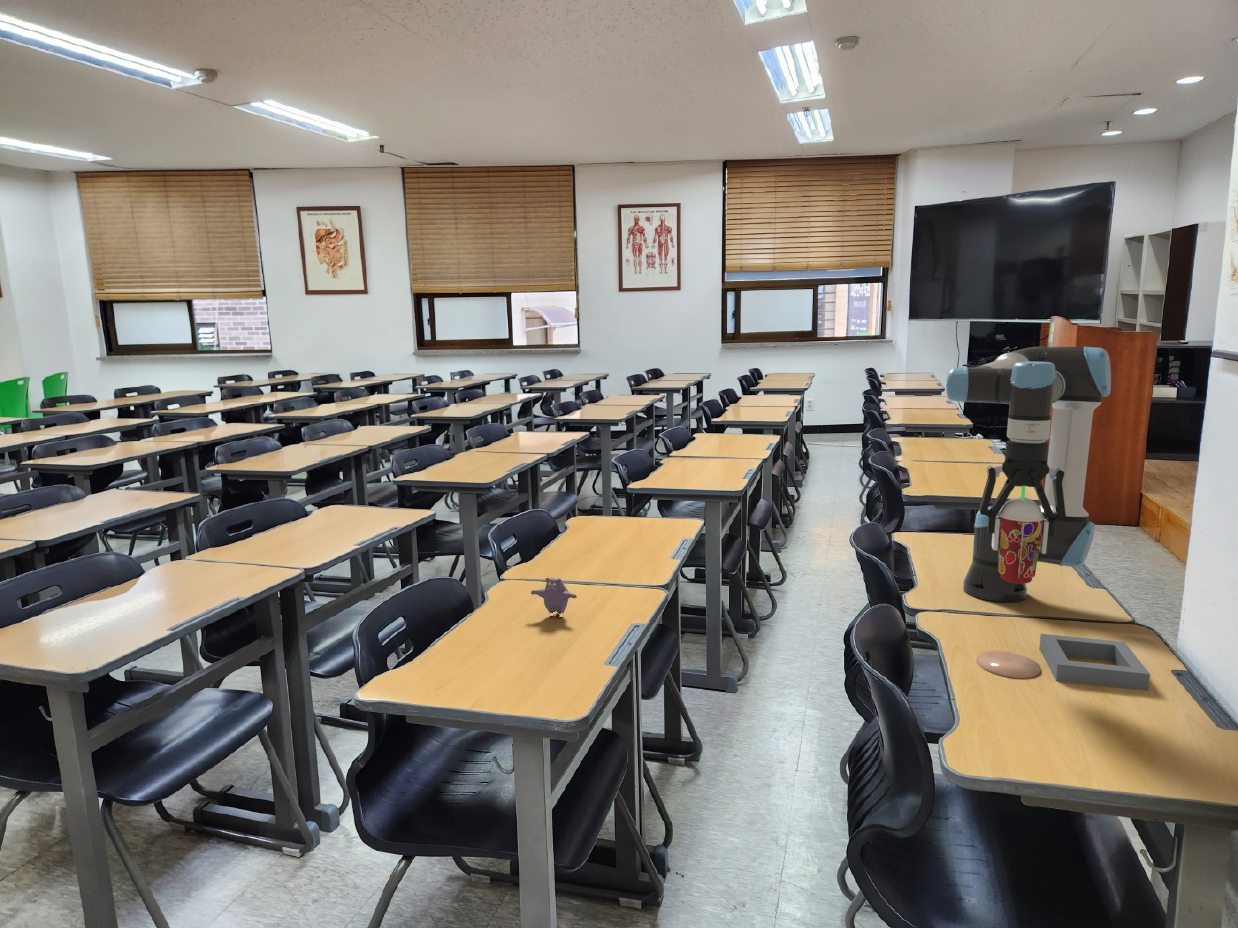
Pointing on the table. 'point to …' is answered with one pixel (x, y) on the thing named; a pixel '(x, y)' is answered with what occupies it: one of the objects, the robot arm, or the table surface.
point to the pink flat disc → (1008, 664)
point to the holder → (1120, 676)
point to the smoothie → (1019, 539)
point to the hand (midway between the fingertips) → (1018, 549)
